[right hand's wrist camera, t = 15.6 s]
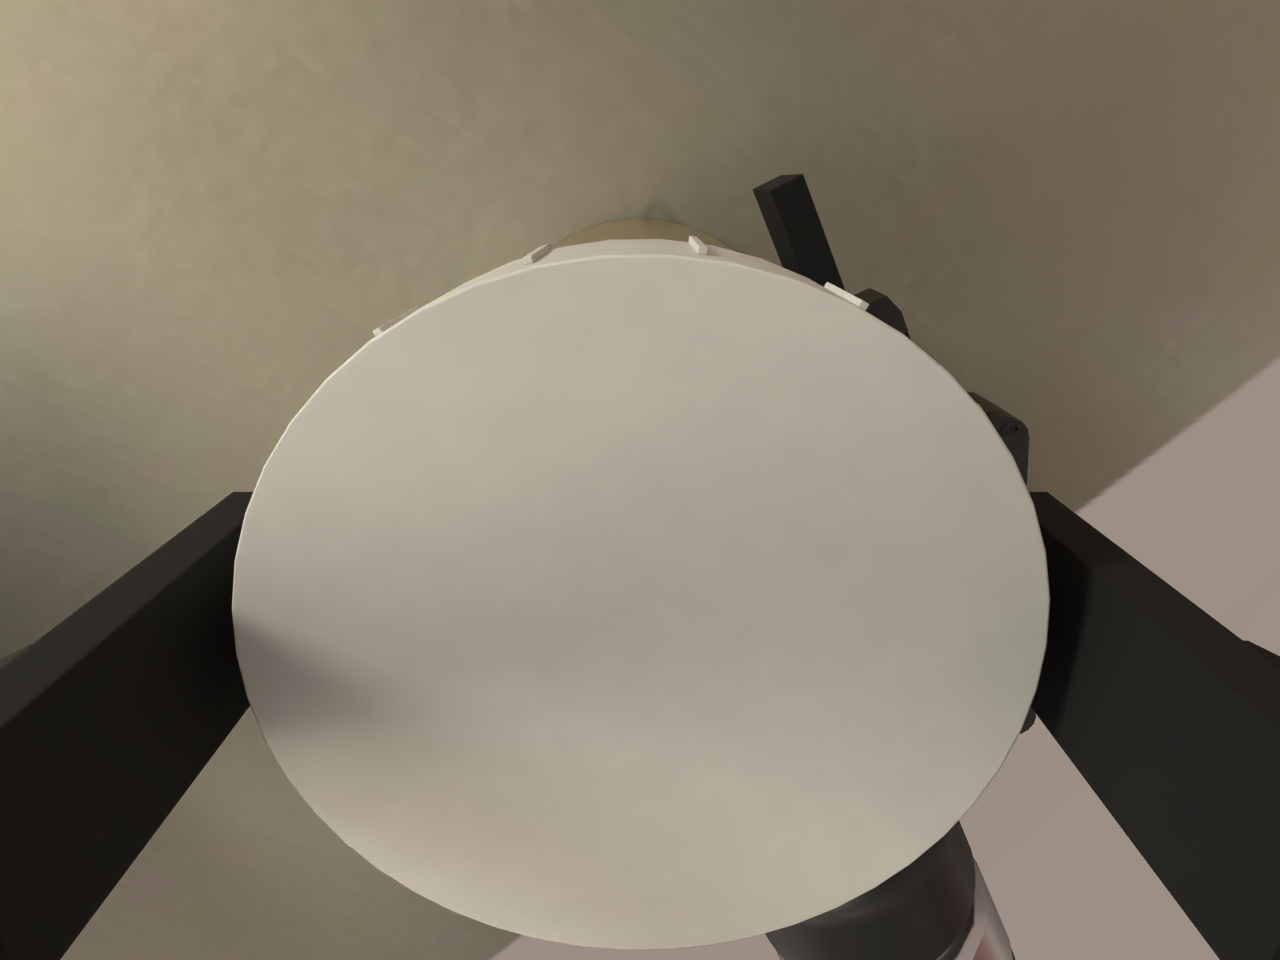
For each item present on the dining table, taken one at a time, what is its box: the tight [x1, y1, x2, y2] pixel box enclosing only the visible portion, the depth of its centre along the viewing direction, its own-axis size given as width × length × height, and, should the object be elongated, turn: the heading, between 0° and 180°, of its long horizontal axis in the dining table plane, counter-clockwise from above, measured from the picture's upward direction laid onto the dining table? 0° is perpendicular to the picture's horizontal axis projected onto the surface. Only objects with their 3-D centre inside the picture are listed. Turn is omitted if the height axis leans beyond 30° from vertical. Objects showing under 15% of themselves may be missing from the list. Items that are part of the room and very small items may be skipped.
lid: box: [232, 236, 1050, 950], centre depth 11 cm, size 11×11×2 cm
